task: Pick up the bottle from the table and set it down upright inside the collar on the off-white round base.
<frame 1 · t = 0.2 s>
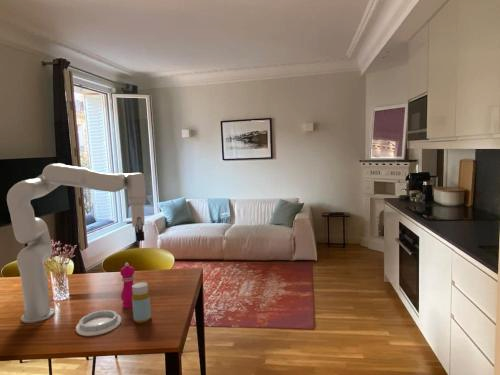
hand: (140, 238, 158), 31 cm above the table, tool pointing down, fingers open, 9 cm apart
bottle: (142, 320, 147), on the table
pepper mill: (130, 305, 162), on the table
collar base: (99, 325, 144), on the table
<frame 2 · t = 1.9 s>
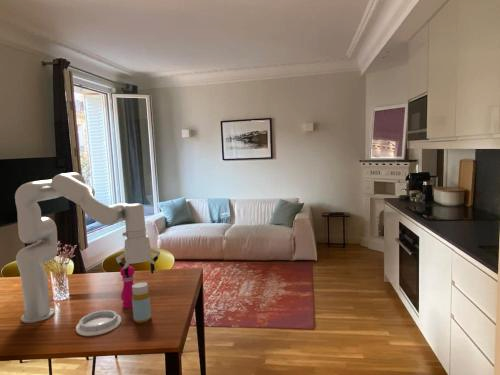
hand: (140, 274, 145), 19 cm above the table, tool pointing down, fingers open, 9 cm apart
nothing on the table moved.
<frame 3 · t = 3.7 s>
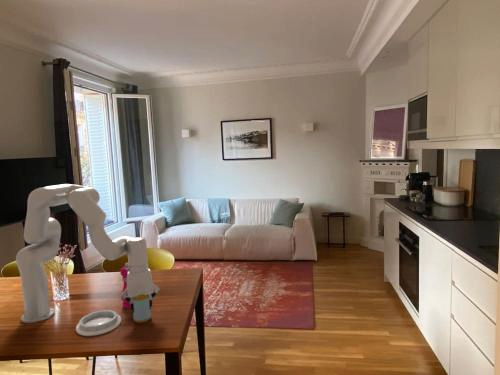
hand: (141, 309, 147), 4 cm above the table, tool pointing down, fingers closed on bottle, 5 cm apart
bottle: (142, 319, 147), on the table, touching gripper
everything else where it was.
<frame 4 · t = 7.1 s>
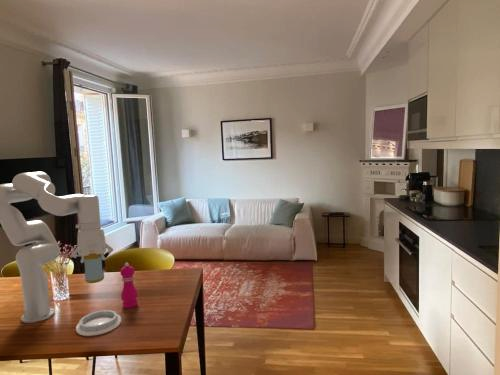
hand: (94, 269, 141), 23 cm above the table, tool pointing down, fingers closed on bottle, 5 cm apart
bottle: (95, 280, 142), point 19 cm above the table, touching gripper
everything else where it was.
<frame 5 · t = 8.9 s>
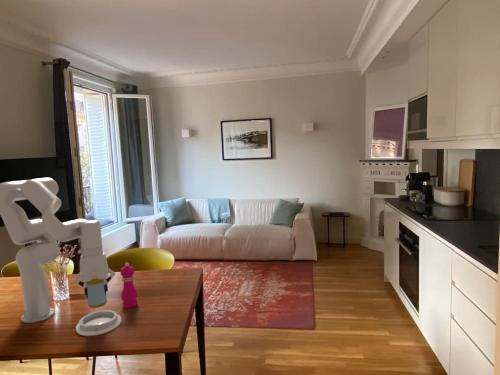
hand: (96, 294, 142), 13 cm above the table, tool pointing down, fingers closed on bottle, 5 cm apart
bottle: (97, 305, 143), point 8 cm above the table, touching gripper
everything else where it was.
when the fingers open (7 cm above the table, at t = 10.5 s): bottle drops 2 cm, resting on collar base.
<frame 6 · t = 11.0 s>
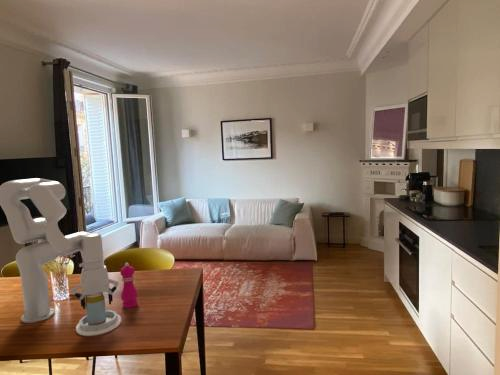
hand: (97, 305, 143), 8 cm above the table, tool pointing down, fingers open, 9 cm apart
bottle: (97, 323, 144), point 1 cm above the table, touching collar base
everything else where it was.
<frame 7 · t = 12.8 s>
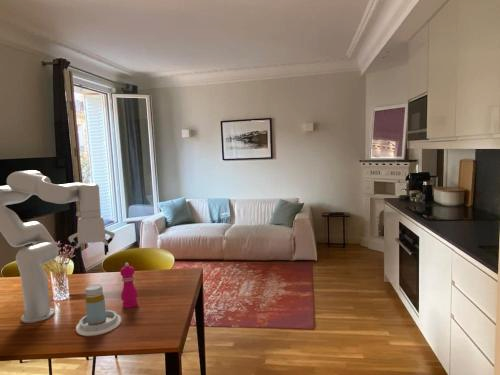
hand: (93, 255, 144), 28 cm above the table, tool pointing down, fingers open, 9 cm apart
nothing on the table moved.
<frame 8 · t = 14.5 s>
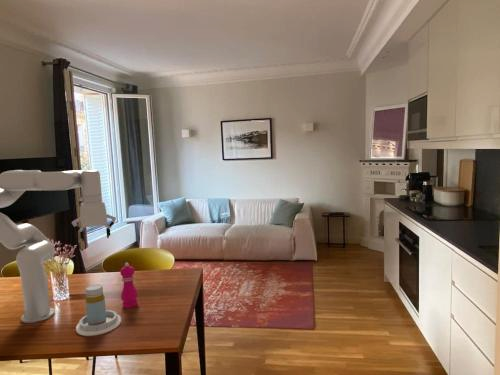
hand: (95, 238, 151), 33 cm above the table, tool pointing down, fingers open, 9 cm apart
nothing on the table moved.
at the end: bottle 0.8 cm off-centre on the collar base, point 0.8 cm above the collar base's base; bottle tilted 0°; the gripper is holding nothing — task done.
